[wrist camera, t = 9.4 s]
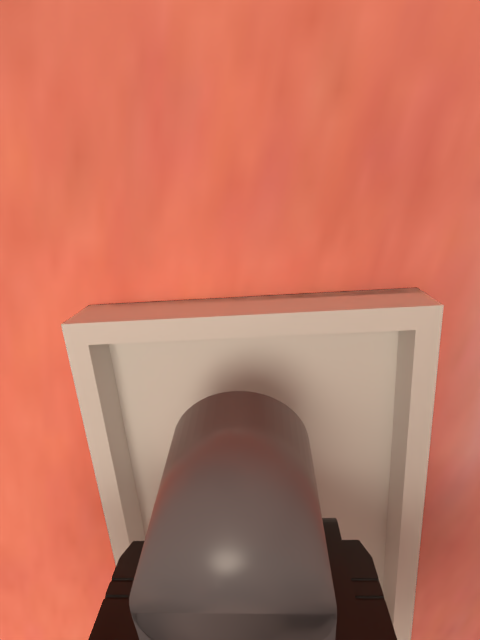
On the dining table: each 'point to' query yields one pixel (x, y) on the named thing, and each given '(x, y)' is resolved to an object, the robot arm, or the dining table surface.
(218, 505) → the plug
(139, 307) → the tray
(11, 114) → the dining table surface
